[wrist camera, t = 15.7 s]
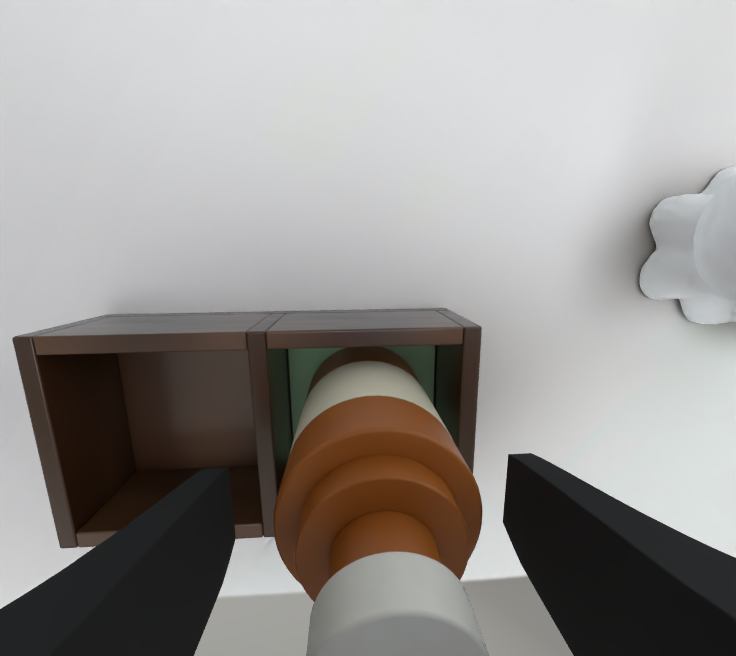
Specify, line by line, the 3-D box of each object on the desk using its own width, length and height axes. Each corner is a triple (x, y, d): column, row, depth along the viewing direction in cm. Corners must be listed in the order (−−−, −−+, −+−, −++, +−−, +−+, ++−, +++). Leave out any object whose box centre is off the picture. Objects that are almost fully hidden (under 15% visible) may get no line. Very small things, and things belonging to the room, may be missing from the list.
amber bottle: (332, 462, 15) (303, 848, 5) (291, 366, 14) (160, 620, 4) (433, 426, 15) (596, 748, 5) (399, 327, 14) (521, 493, 4)
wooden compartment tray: (132, 474, 16) (59, 549, 12) (105, 314, 14) (10, 337, 10) (440, 461, 16) (470, 526, 12) (446, 308, 15) (482, 326, 11)
